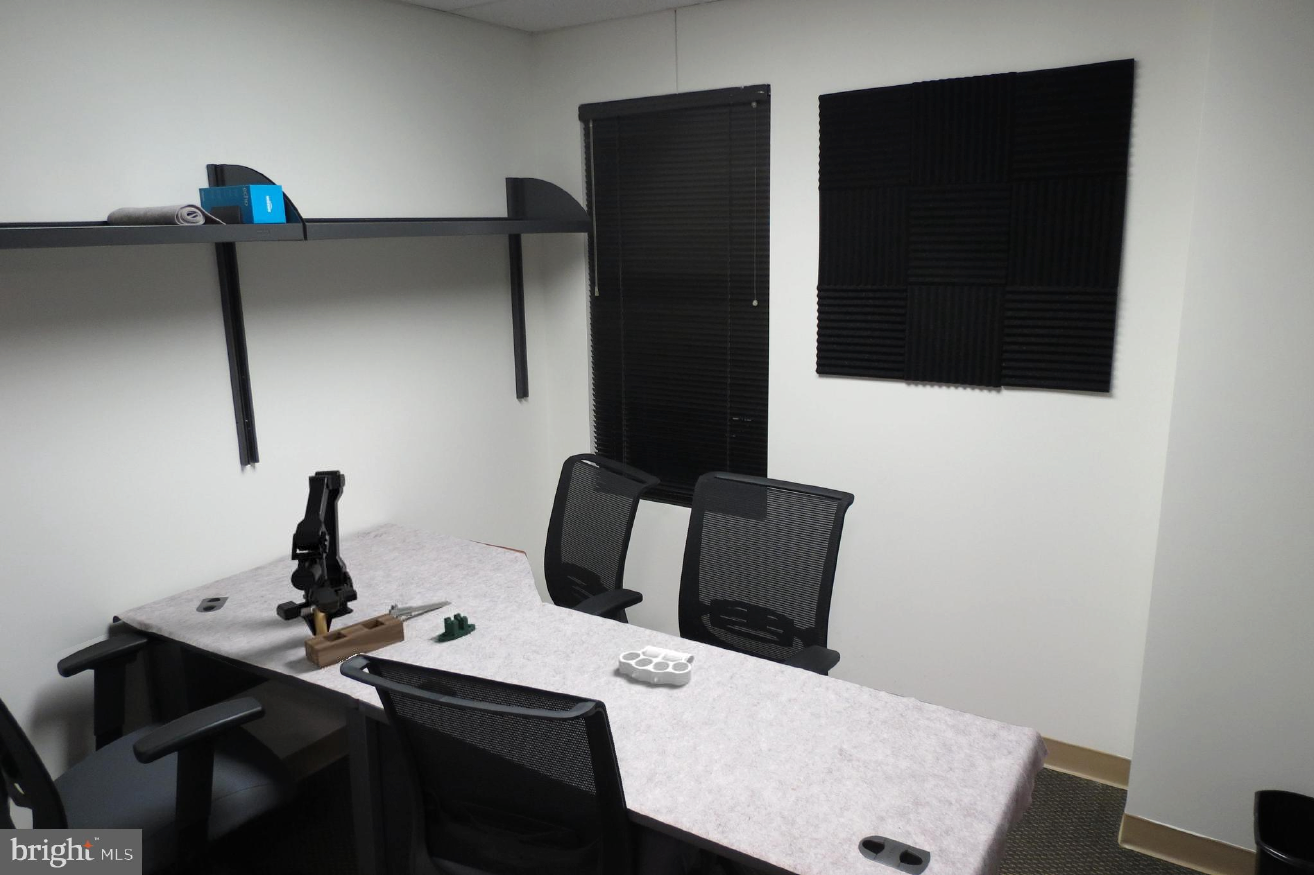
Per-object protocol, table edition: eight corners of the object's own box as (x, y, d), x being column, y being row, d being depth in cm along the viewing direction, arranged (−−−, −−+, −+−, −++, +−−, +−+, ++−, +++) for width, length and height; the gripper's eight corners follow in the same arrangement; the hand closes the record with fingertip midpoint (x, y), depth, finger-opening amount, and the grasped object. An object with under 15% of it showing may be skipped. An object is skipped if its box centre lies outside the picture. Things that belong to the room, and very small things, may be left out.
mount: (443, 645, 225) (442, 626, 224) (433, 640, 228) (432, 621, 227) (479, 631, 233) (478, 613, 232) (469, 626, 236) (468, 608, 235)
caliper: (391, 629, 235) (389, 607, 234) (389, 628, 236) (386, 606, 235) (452, 604, 251) (450, 583, 250) (449, 603, 252) (447, 582, 250)
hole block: (306, 659, 219) (304, 639, 218) (389, 631, 234) (387, 613, 233) (320, 669, 213) (318, 650, 212) (404, 640, 228) (402, 621, 227)
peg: (313, 641, 229) (309, 608, 227) (325, 637, 231) (321, 604, 229) (318, 644, 227) (314, 611, 225) (330, 641, 229) (326, 608, 227)
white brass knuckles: (706, 666, 211) (679, 694, 198) (639, 652, 219) (608, 678, 206) (706, 653, 210) (678, 680, 197) (638, 639, 218) (608, 665, 205)
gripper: (290, 594, 213) (297, 655, 216) (364, 573, 225) (370, 631, 229) (272, 583, 221) (279, 642, 224) (344, 563, 233) (350, 619, 237)
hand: (321, 633), depth 228 cm, fingers closed on peg, 3 cm apart
